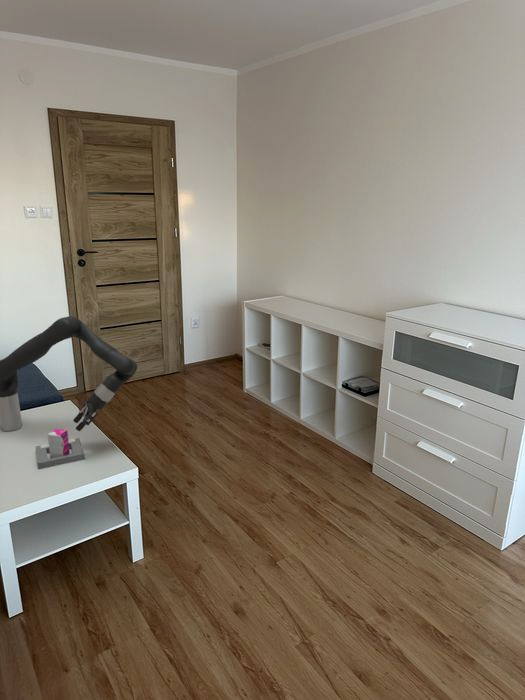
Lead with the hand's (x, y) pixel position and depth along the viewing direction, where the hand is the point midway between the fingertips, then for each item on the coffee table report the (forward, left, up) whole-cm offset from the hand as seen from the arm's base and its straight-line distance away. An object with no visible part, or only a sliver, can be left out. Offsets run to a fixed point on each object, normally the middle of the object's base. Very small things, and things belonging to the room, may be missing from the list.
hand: (76, 425), depth 211 cm
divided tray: (0, -8, -12) cm, 15 cm away
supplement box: (0, -8, -13) cm, 15 cm away
